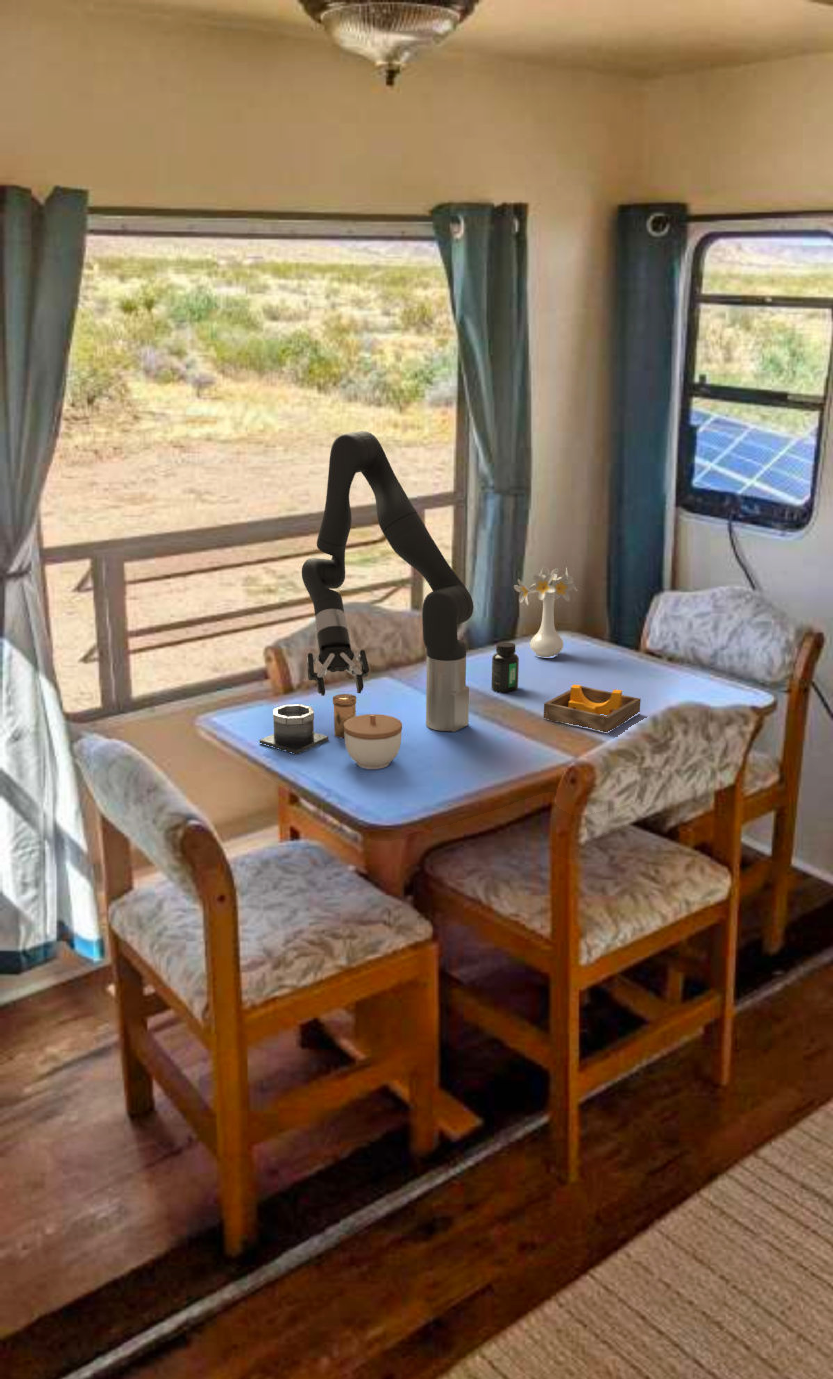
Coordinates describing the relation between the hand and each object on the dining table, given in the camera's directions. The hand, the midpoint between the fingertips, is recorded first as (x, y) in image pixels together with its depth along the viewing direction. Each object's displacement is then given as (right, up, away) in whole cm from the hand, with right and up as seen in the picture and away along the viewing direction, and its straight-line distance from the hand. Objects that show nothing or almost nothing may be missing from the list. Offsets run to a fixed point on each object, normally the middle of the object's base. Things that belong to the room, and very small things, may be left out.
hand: (341, 693), depth 280 cm
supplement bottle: (+40, +1, +31) cm, 51 cm away
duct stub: (-10, -11, -6) cm, 16 cm away
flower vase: (+53, +10, +58) cm, 80 cm away
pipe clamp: (+60, -6, +13) cm, 62 cm away
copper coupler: (+1, -10, -1) cm, 10 cm away
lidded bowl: (+8, -15, -17) cm, 24 cm away
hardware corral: (+60, -6, +11) cm, 61 cm away
